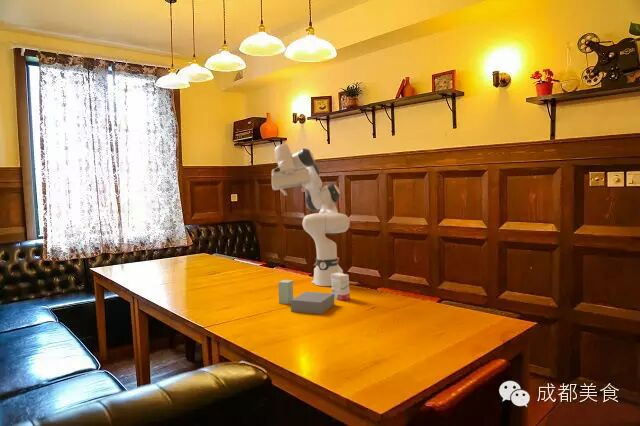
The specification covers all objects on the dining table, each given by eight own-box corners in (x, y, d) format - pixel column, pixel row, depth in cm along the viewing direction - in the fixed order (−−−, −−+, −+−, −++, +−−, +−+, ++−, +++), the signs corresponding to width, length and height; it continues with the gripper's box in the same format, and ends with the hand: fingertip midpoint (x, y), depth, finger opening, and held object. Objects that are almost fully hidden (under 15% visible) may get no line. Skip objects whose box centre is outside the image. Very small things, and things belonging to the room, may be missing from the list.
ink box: (350, 299, 210) (349, 274, 209) (341, 301, 207) (341, 276, 207) (339, 296, 217) (339, 272, 217) (331, 297, 215) (330, 273, 214)
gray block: (306, 302, 207) (306, 291, 207) (334, 304, 202) (334, 293, 202) (291, 311, 193) (290, 300, 192) (320, 314, 187) (320, 302, 187)
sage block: (283, 300, 211) (283, 279, 211) (293, 301, 209) (292, 280, 209) (278, 303, 207) (278, 282, 206) (288, 304, 205) (287, 282, 204)
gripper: (307, 170, 234) (314, 192, 228) (269, 177, 230) (275, 200, 224) (307, 163, 229) (314, 185, 222) (268, 170, 225) (275, 193, 218)
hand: (294, 193), depth 223 cm, fingers open, 8 cm apart
